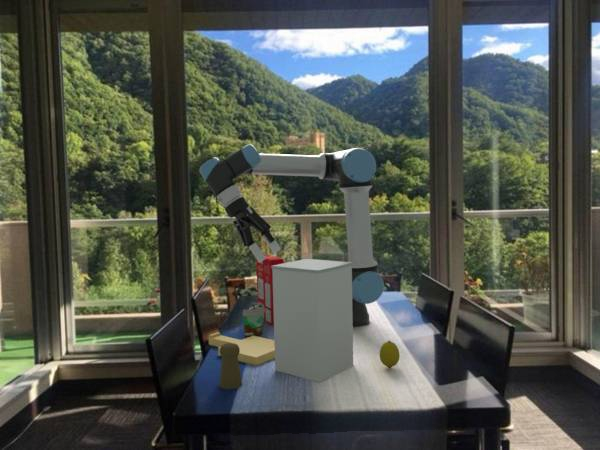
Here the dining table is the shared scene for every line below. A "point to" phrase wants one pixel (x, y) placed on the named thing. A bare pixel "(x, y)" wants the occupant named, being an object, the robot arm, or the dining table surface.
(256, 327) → the food container
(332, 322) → the tall white upright box
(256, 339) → the paddle
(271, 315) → the food packaging
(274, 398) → the dining table surface
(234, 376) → the cork
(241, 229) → the robot arm
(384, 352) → the lemon
